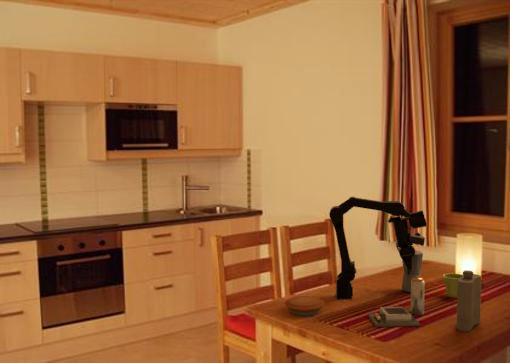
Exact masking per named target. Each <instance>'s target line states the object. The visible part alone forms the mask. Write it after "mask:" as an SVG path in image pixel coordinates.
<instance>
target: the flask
mask: <svg viewBox="0 0 510 363" xmlns="http://www.w3.org/2000/svg"><path fill="white" fill-rule="evenodd" d="M462 275H463V276H462V277H460V278H459V279H458V281H457V297H456V329H457V331H460V332H465V333H466V332H471V331H472V329H473V328H474V326H475V325H478V324H480V323H481V311H482V309H481V307H482V302H481V300H482V275H480V274H475V273H474V272H473V270H464V271H463V272H462Z"/></svg>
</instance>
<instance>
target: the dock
mask: <svg viewBox="0 0 510 363" xmlns="http://www.w3.org/2000/svg"><path fill="white" fill-rule="evenodd" d="M368 318H369V319H370V321H371V322H372V323H373V325H374V326H375V327H376V328H381V327H382V328H385V327H387V328H388V327H389V328H390V327H392V328H394V327H396V326H399V327H420V326H421V324H420V322H419V321H418V320H417V319H416V318H415V317H414V315H413V314H412V313H411V312H409V310H408V309H407V308H406V307H405V306H386V307H385V306H381V307H379V313H378V312H374V313H373V312H372V313H368Z"/></svg>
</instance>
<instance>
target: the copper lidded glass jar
mask: <svg viewBox="0 0 510 363" xmlns="http://www.w3.org/2000/svg"><path fill="white" fill-rule="evenodd" d="M425 282H426V281H425V279H424V277H413V279H411V292H410V314H411V315H417V316H421V315H422V316H423V315H424V314H425Z"/></svg>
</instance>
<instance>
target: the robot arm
mask: <svg viewBox="0 0 510 363" xmlns="http://www.w3.org/2000/svg"><path fill="white" fill-rule="evenodd" d="M353 208H361V209H366V210H368V209H369V210H374V211H380V212H383V213H386V214H389V215H390V217H389V218H388V220H387V222H388V224H389V223H392V224H393V230H394V236H395V239H396V242H395V246H396V249H397V251H398V254H399V257H400V258H401V261H402V260H403V261H404V263H405V264H406V266H407V268H408V269H409V270H411V269H412V257H413V256H414V255H415V250H416V249H415V247H413V246H414V245H420V246H423V247H424V245H425V240H426V238H425V237H424V236H423V235H421V233H420V232H415V233H414V234H411V232H410V230H409V228H412V229H413V230H414V229H421V228H426V227H427V226H428V225H427V220H426V218H425V214H424V211H423V210H418V211H415V212H409V211H408V210H407V209H406V208H405V206H404V204H403V203H402V202H400V201H398V200H388V201H387V200H386V201H385V200H384V201H381V200H374V199H367V198H361V197H356V196H350V197H349V198H348V199H346V200H345V201H344V202H342V203H340V204H339V205H335V206H332V207H331V208H330V210H329V214H328V215H329V218H330V221H331V223H332V226H333V228H334V230H335V235H336V236H335V237H336V241H337V246H338V251H339V256H340V262H341V263H340V264H341V266H340V267H341V268H340V269H341V271H340V272H339V274H337V276H336V281H335V293H334V296H335V298H336V299H337V300H353V296H354V292H353V291H354V290H353V288H354V287H353V286H352V283H351V282H352V281H354V280H355V278H356V274H357V268H356V265H355V263H356V262H355V260H353V261H352V260H351V257H350V254H349V248H348V244H347V238H346V233H345V227H344V215H345V214H347V213H348V212H349V211H350V210H352V209H353ZM393 216H394V217H393Z"/></svg>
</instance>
